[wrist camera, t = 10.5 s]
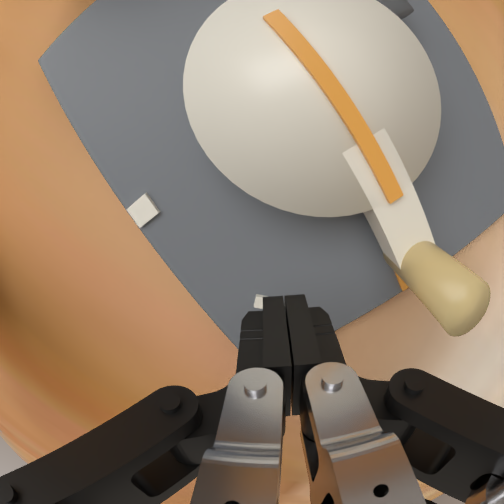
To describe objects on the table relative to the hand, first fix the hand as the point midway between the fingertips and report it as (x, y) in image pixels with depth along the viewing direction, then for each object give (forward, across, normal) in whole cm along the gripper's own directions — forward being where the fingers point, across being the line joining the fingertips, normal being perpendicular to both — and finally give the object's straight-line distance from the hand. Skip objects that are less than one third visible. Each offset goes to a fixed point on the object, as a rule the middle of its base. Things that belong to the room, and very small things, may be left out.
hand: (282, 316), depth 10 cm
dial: (+6, -4, -6) cm, 9 cm away
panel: (+8, -2, -10) cm, 12 cm away
